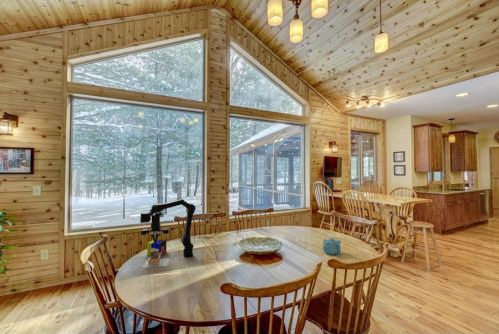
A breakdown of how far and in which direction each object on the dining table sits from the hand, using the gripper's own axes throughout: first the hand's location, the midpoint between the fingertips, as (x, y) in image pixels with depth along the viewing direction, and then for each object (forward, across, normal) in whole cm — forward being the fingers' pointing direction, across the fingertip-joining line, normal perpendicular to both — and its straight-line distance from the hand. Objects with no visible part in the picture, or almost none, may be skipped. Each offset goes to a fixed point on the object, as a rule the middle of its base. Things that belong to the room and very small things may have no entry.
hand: (155, 243), depth 173 cm
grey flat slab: (+12, -2, +6) cm, 14 cm away
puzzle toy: (+13, +1, -13) cm, 18 cm away
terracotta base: (+12, 0, +4) cm, 12 cm away
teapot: (+13, -135, +10) cm, 136 cm away
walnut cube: (+9, 0, +4) cm, 10 cm away
